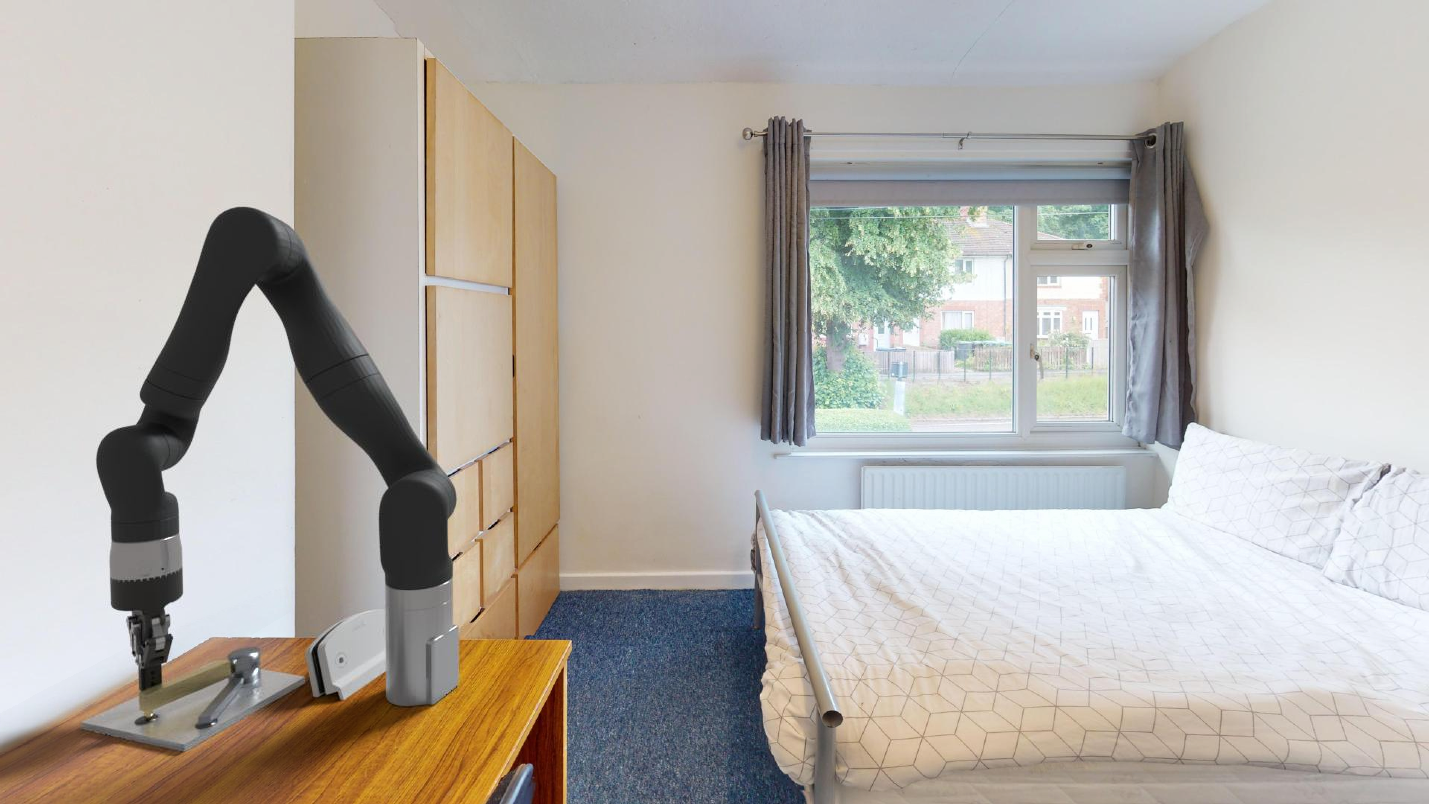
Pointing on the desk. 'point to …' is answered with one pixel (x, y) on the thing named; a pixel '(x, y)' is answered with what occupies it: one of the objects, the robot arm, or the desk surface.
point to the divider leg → (182, 686)
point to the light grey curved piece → (348, 654)
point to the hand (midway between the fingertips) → (150, 690)
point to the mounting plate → (199, 706)
